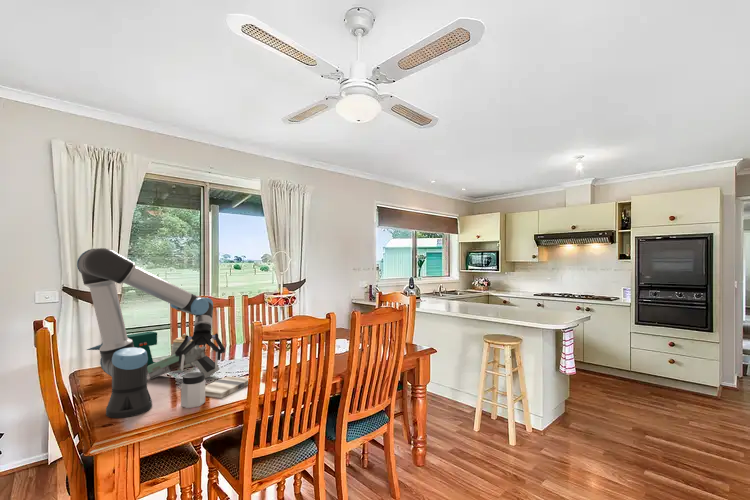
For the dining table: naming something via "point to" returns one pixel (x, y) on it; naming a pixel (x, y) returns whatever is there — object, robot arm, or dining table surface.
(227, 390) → the board
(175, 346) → the jar
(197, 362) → the ray gun
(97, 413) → the dining table surface
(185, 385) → the jar
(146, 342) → the power tool
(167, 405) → the dining table surface
